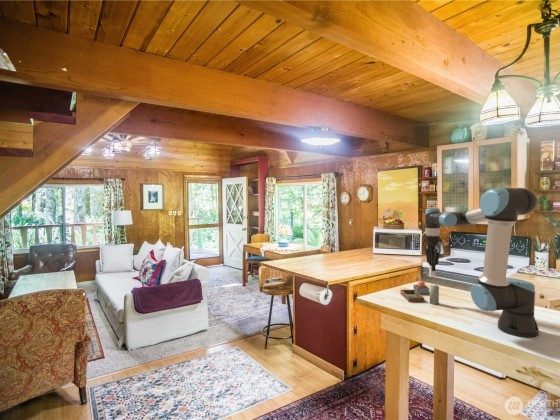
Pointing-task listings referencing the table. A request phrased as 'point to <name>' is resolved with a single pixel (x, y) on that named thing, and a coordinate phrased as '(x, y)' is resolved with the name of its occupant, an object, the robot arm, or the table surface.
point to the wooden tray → (412, 296)
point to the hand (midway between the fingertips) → (432, 276)
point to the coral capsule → (421, 284)
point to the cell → (434, 294)
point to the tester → (421, 289)
